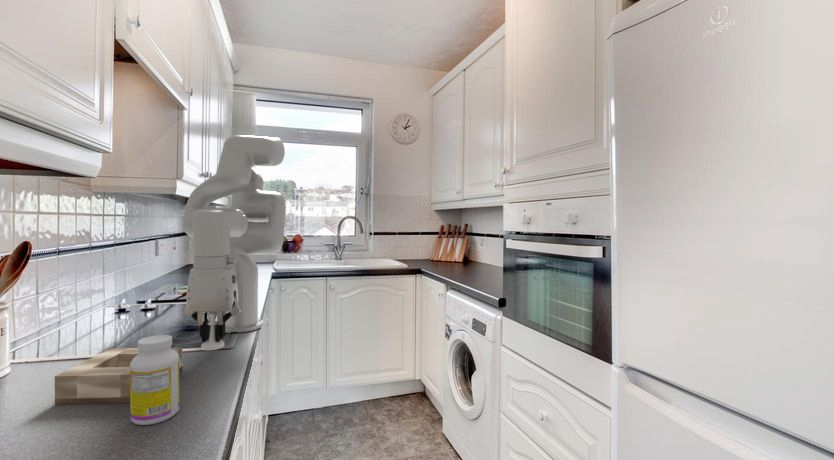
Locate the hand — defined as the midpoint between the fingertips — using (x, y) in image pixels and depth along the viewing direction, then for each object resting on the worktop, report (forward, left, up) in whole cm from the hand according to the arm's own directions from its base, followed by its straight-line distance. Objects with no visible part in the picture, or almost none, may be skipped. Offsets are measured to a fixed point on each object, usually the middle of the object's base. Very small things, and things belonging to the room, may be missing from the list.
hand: (212, 339), depth 89 cm
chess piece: (0, 0, -2) cm, 2 cm away
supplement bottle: (+27, +2, -4) cm, 28 cm away
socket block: (+15, -10, -4) cm, 18 cm away
